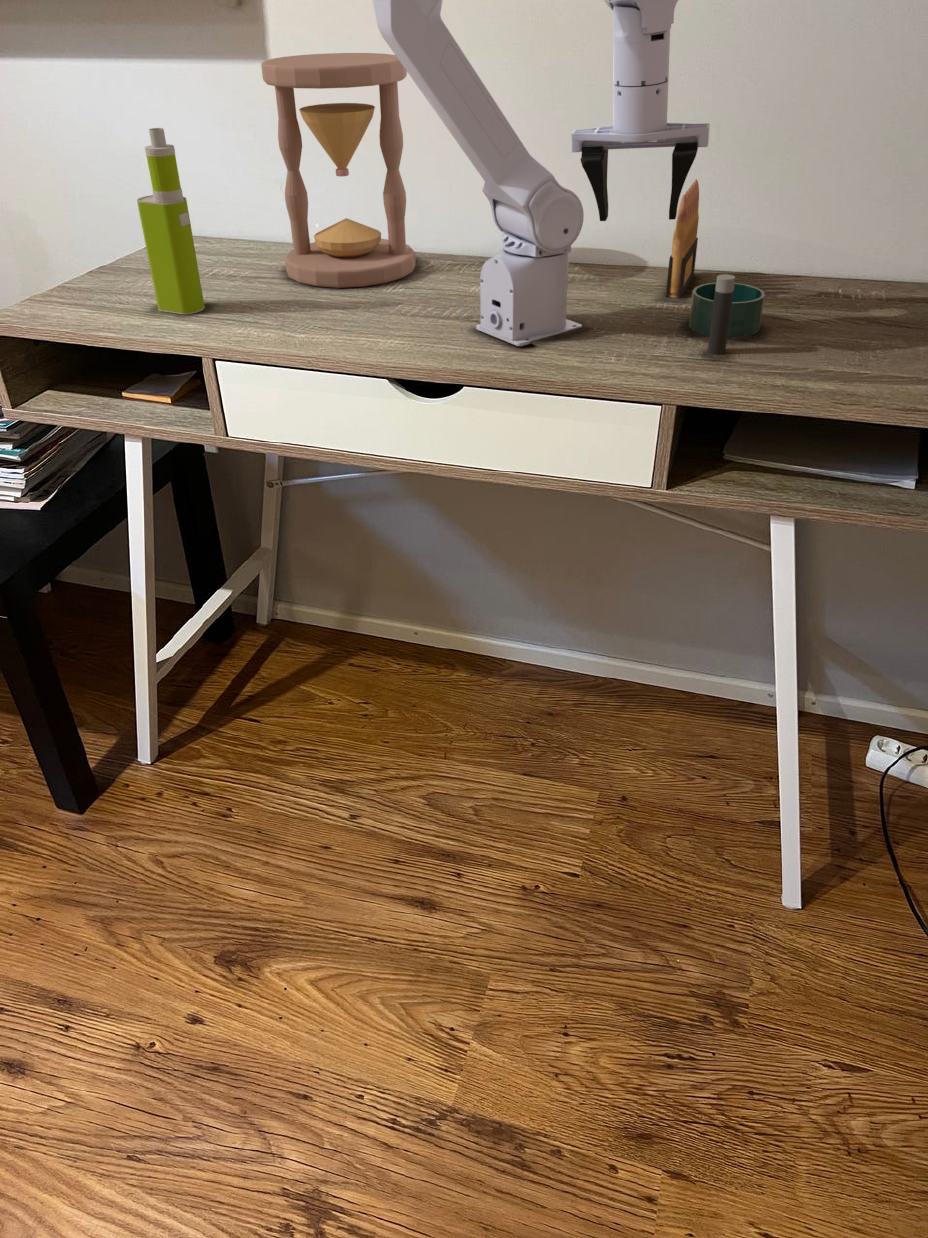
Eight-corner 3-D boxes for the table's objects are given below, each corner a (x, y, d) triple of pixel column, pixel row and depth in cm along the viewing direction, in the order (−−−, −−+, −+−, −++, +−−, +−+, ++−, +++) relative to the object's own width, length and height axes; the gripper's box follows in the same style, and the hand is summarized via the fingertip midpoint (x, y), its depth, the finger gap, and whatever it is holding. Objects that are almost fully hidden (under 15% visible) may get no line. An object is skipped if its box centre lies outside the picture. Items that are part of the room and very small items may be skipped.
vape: (191, 315, 118) (159, 132, 106) (153, 309, 120) (116, 129, 108) (211, 306, 120) (181, 127, 109) (172, 301, 122) (139, 124, 111)
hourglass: (263, 283, 128) (234, 65, 114) (318, 249, 142) (298, 51, 128) (389, 292, 124) (375, 67, 109) (432, 256, 137) (425, 52, 123)
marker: (716, 360, 102) (727, 280, 97) (703, 355, 103) (713, 276, 98) (728, 356, 103) (739, 276, 98) (714, 351, 104) (725, 272, 99)
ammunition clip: (680, 301, 118) (691, 196, 111) (664, 300, 119) (675, 195, 112) (693, 277, 126) (705, 178, 120) (679, 276, 127) (689, 177, 120)
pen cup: (745, 346, 105) (750, 306, 103) (677, 334, 109) (681, 296, 106) (768, 325, 110) (774, 288, 108) (703, 315, 114) (707, 278, 111)
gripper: (713, 71, 103) (705, 206, 111) (577, 79, 107) (579, 209, 115) (710, 83, 98) (702, 223, 106) (567, 91, 101) (570, 226, 109)
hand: (638, 217), depth 110 cm, fingers open, 7 cm apart
